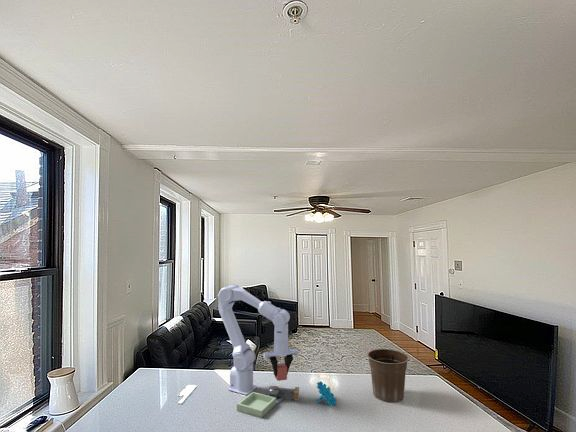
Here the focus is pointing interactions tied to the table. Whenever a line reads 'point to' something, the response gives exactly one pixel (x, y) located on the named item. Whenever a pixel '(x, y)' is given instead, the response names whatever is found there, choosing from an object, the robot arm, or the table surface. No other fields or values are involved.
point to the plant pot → (388, 374)
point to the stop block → (281, 372)
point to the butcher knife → (186, 392)
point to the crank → (284, 392)
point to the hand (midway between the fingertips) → (280, 374)
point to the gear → (326, 394)
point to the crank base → (277, 399)
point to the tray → (256, 404)
